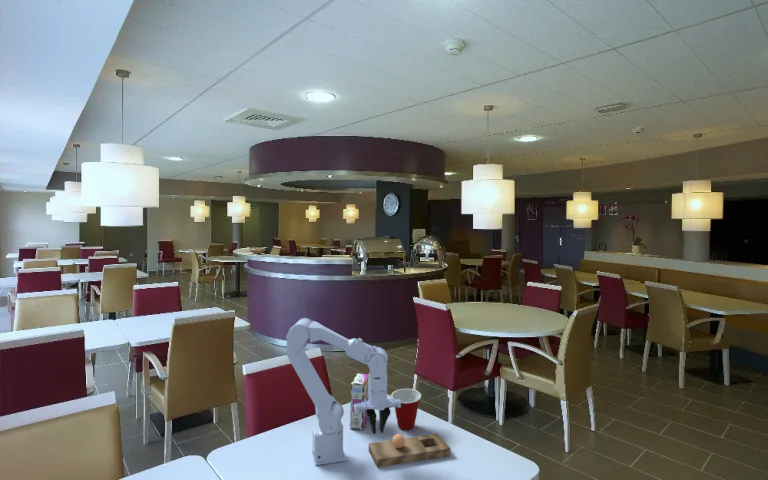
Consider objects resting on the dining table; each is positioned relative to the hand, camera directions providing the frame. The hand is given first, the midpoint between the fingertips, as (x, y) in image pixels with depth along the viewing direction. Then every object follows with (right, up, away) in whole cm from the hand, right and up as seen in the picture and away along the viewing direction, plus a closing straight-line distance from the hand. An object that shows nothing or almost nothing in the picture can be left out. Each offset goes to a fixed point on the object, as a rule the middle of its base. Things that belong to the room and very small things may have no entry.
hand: (377, 431), depth 135 cm
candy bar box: (-7, -8, +24) cm, 26 cm away
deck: (+10, -8, +3) cm, 13 cm away
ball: (+7, -4, +2) cm, 8 cm away
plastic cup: (+10, -8, +21) cm, 25 cm away
